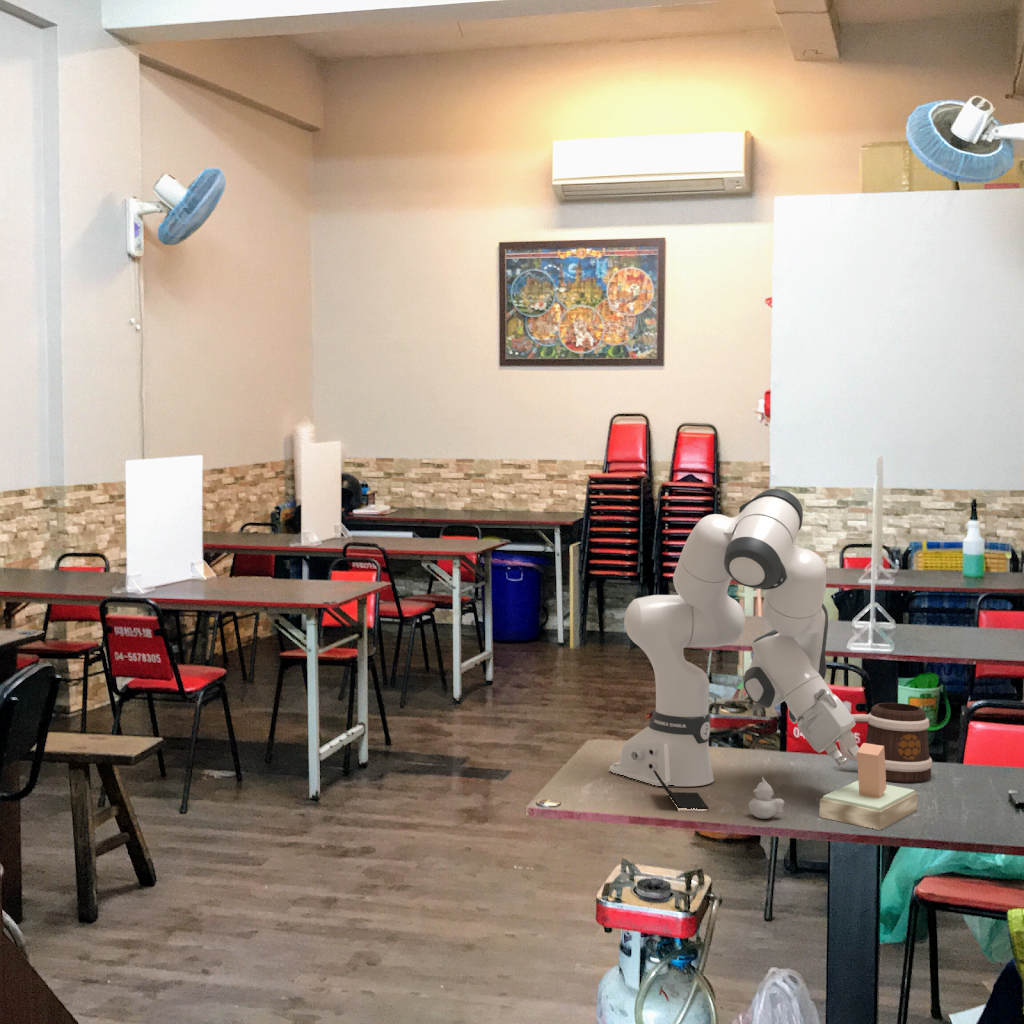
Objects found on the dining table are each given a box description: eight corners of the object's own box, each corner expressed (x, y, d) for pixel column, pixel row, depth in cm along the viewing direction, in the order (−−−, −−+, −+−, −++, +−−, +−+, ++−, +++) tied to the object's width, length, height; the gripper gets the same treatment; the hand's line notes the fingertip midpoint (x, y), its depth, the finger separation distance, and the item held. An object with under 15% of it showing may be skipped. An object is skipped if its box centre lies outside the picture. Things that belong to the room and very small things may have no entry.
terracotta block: (859, 794, 229) (856, 752, 227) (865, 784, 232) (863, 742, 230) (880, 798, 227) (877, 755, 225) (886, 787, 230) (884, 745, 228)
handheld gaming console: (718, 803, 230) (687, 762, 229) (691, 827, 228) (659, 786, 228) (697, 795, 241) (668, 756, 241) (671, 818, 239) (641, 779, 239)
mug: (925, 769, 268) (928, 702, 267) (938, 786, 253) (941, 716, 252) (833, 763, 271) (836, 697, 270) (841, 780, 256) (844, 710, 255)
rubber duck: (748, 812, 229) (749, 771, 229) (783, 815, 228) (784, 774, 228) (748, 820, 224) (749, 778, 224) (784, 823, 223) (785, 781, 222)
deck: (819, 816, 228) (820, 796, 227) (858, 798, 241) (859, 778, 241) (880, 830, 220) (880, 808, 220) (916, 810, 234) (917, 790, 234)
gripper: (836, 678, 232) (878, 740, 227) (811, 705, 250) (850, 762, 246) (809, 693, 230) (851, 756, 226) (786, 719, 249) (824, 777, 244)
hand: (850, 760), depth 236 cm, fingers open, 8 cm apart
